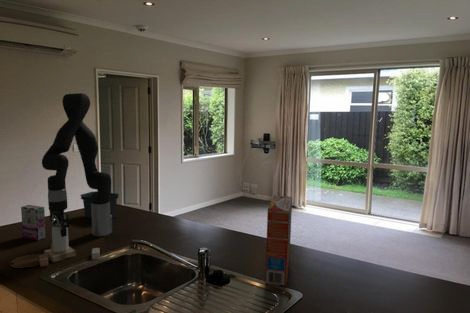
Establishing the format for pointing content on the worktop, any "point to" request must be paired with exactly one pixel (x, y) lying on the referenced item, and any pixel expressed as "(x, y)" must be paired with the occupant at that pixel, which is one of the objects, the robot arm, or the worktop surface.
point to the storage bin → (87, 203)
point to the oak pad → (60, 254)
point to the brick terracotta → (43, 260)
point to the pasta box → (278, 240)
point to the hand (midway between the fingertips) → (59, 233)
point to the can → (59, 239)
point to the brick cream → (95, 253)
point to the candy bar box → (33, 222)
